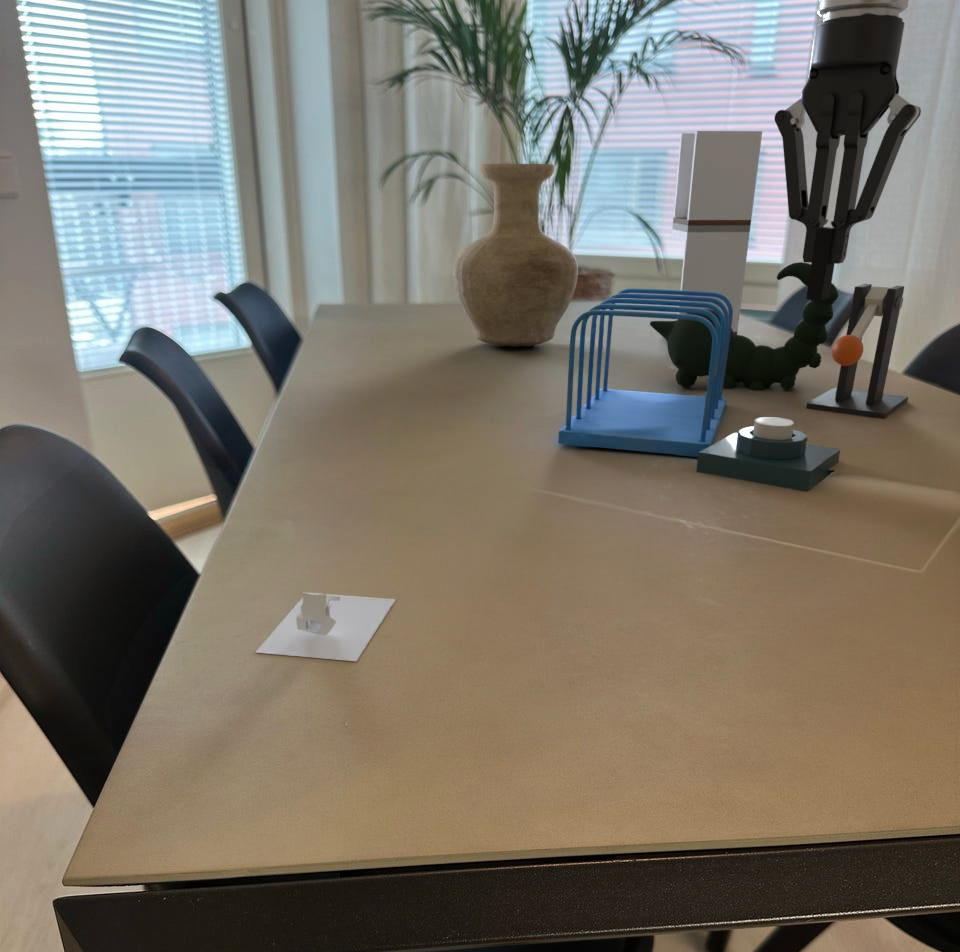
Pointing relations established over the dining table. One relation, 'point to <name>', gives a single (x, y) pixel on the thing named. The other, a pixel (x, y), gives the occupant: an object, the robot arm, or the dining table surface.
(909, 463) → the dining table surface
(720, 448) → the button base
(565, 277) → the vase
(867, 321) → the switch lever
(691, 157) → the display case
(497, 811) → the dining table surface
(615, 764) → the dining table surface
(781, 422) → the white button cap
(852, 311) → the orange ball swing frame
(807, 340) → the toy figurine
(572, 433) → the file sorter
